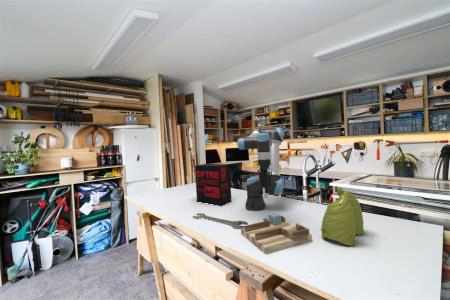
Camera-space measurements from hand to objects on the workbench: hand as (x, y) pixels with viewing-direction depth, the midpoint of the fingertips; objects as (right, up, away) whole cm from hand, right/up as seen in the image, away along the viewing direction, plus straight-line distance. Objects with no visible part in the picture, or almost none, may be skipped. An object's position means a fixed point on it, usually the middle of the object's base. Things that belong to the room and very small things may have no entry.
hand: (265, 198), depth 130 cm
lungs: (+35, -15, -20) cm, 43 cm away
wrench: (-29, -18, +10) cm, 35 cm away
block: (+4, -13, -7) cm, 15 cm away
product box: (-34, -16, +55) cm, 66 cm away
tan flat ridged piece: (+1, -16, -17) cm, 24 cm away
